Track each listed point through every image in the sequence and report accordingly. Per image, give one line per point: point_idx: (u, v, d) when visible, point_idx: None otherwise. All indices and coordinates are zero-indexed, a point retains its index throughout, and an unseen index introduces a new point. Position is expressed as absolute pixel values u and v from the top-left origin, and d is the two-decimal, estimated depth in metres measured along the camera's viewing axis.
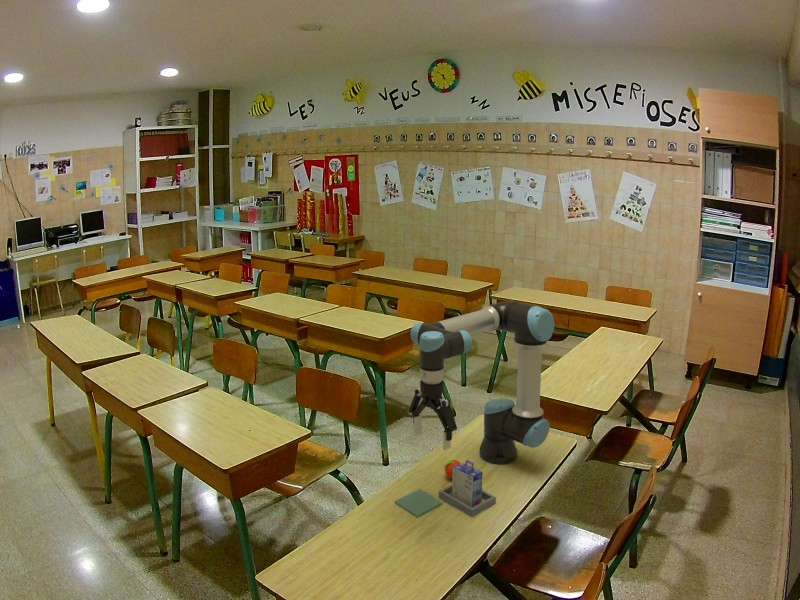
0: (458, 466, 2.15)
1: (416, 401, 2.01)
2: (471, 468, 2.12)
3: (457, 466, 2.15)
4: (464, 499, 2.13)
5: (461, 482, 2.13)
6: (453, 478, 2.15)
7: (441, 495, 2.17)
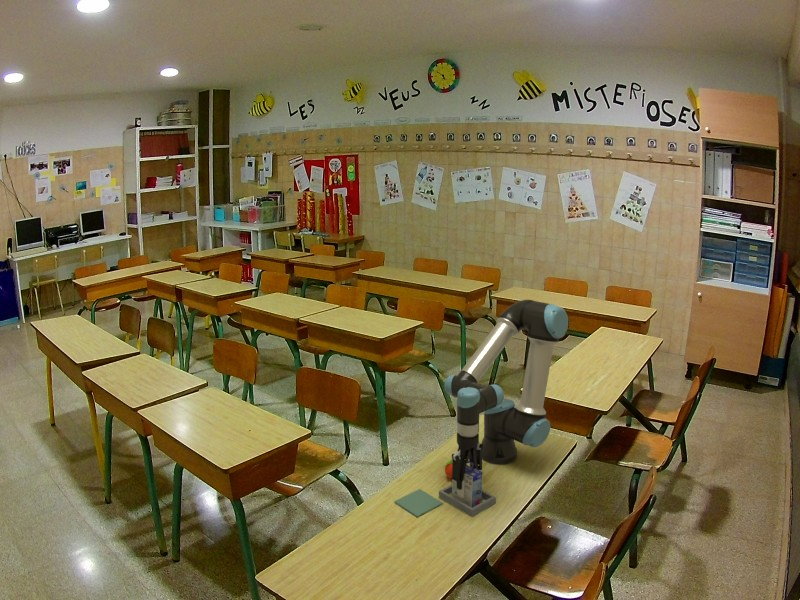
0: None
1: (476, 455, 2.16)
2: (471, 468, 2.12)
3: None
4: (464, 499, 2.13)
5: None
6: None
7: (441, 495, 2.17)
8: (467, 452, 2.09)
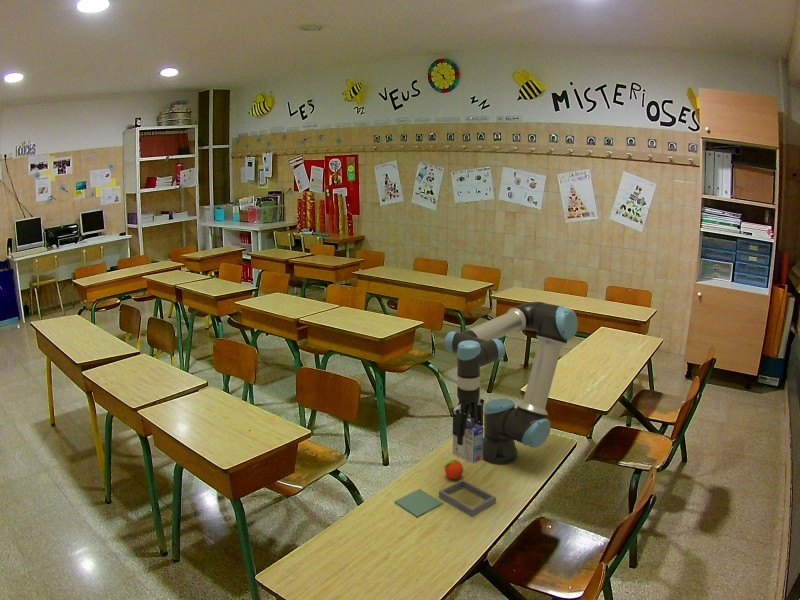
0: None
1: (477, 410, 2.12)
2: (472, 423, 2.08)
3: None
4: (465, 455, 2.09)
5: None
6: (453, 435, 2.11)
7: (441, 495, 2.17)
8: (468, 406, 2.05)
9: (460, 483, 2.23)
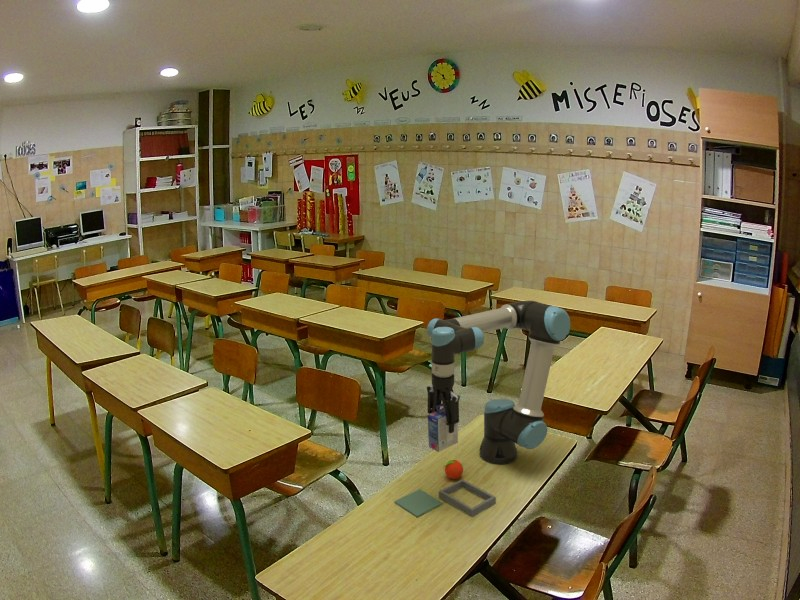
0: (437, 416, 2.04)
1: (431, 399, 2.09)
2: (444, 408, 2.08)
3: (437, 416, 2.04)
4: (450, 441, 2.08)
5: None
6: (439, 431, 2.03)
7: (441, 495, 2.17)
8: None
9: (460, 483, 2.23)
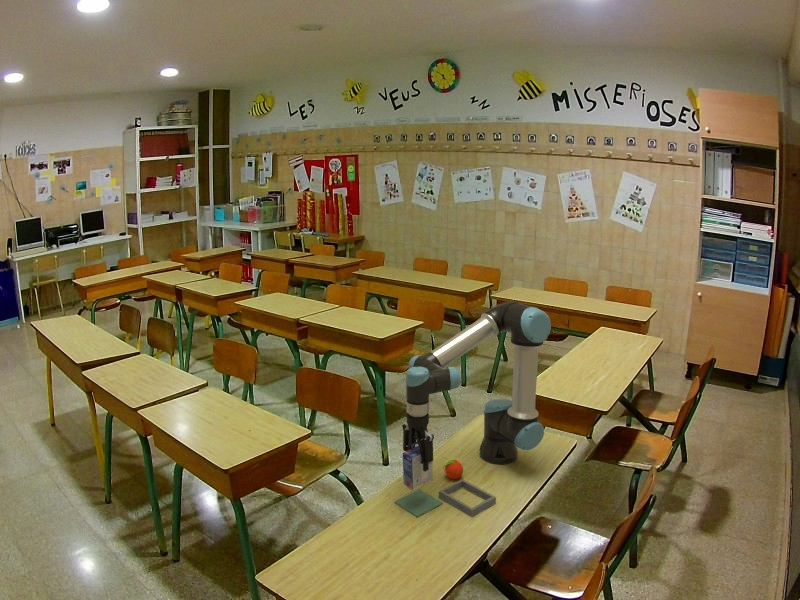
0: (412, 454, 2.07)
1: (406, 436, 2.12)
2: None
3: (412, 455, 2.06)
4: (425, 479, 2.11)
5: None
6: (413, 469, 2.06)
7: (441, 495, 2.17)
8: None
9: (460, 483, 2.23)
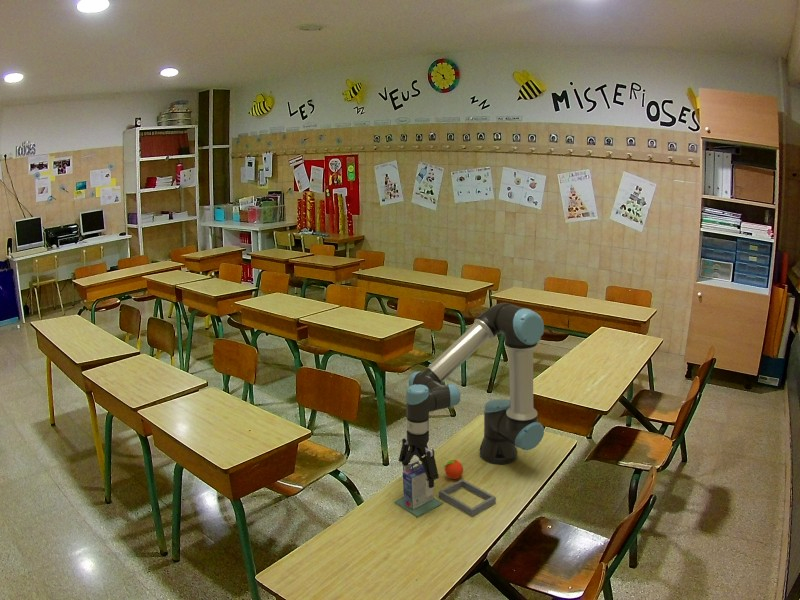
0: (411, 474, 2.09)
1: (404, 450, 2.14)
2: (419, 466, 2.13)
3: (411, 475, 2.08)
4: (425, 498, 2.13)
5: (421, 485, 2.10)
6: (413, 489, 2.08)
7: (441, 495, 2.17)
8: None
9: (460, 483, 2.23)
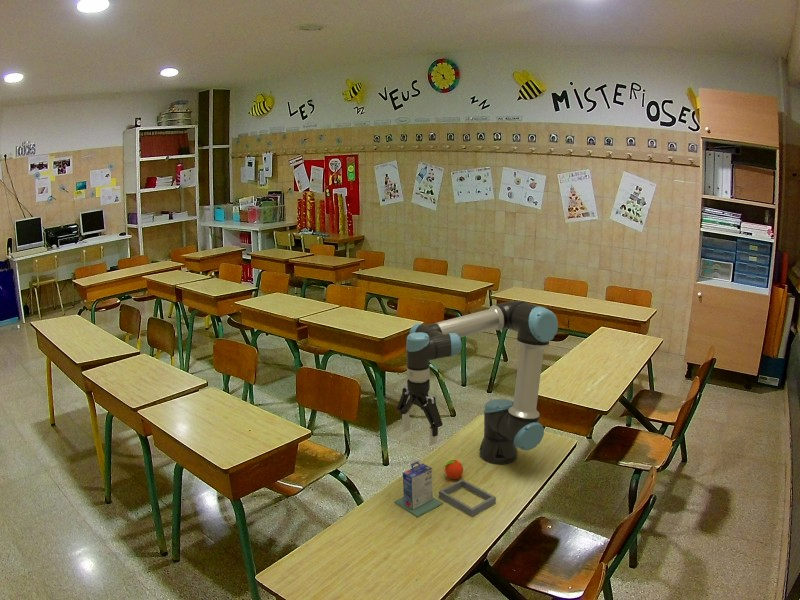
0: (411, 474, 2.09)
1: (404, 399, 2.11)
2: (419, 466, 2.13)
3: (411, 475, 2.08)
4: (425, 498, 2.13)
5: (421, 485, 2.10)
6: (413, 489, 2.08)
7: (441, 495, 2.17)
8: None
9: (460, 483, 2.23)
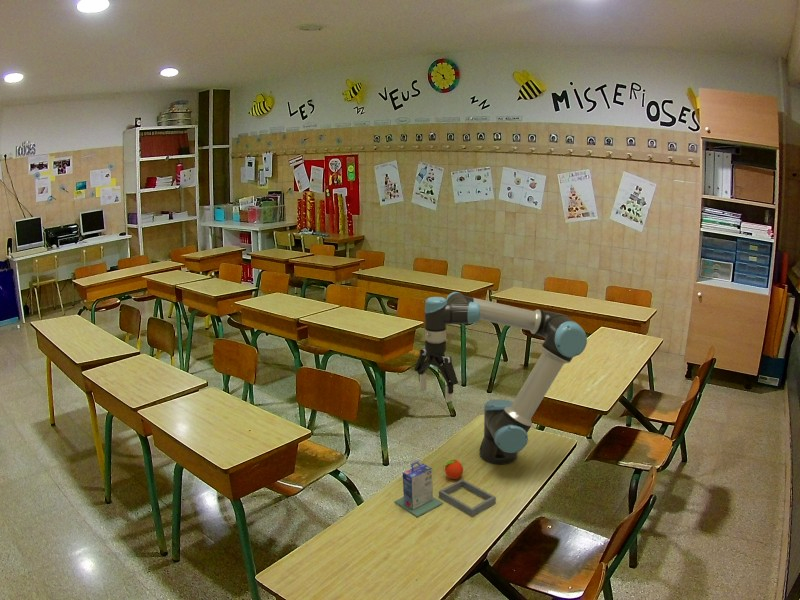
0: (411, 474, 2.09)
1: (421, 360, 2.26)
2: (419, 466, 2.13)
3: (411, 475, 2.08)
4: (425, 498, 2.13)
5: (421, 485, 2.10)
6: (413, 489, 2.08)
7: (441, 495, 2.17)
8: None
9: (460, 483, 2.23)
